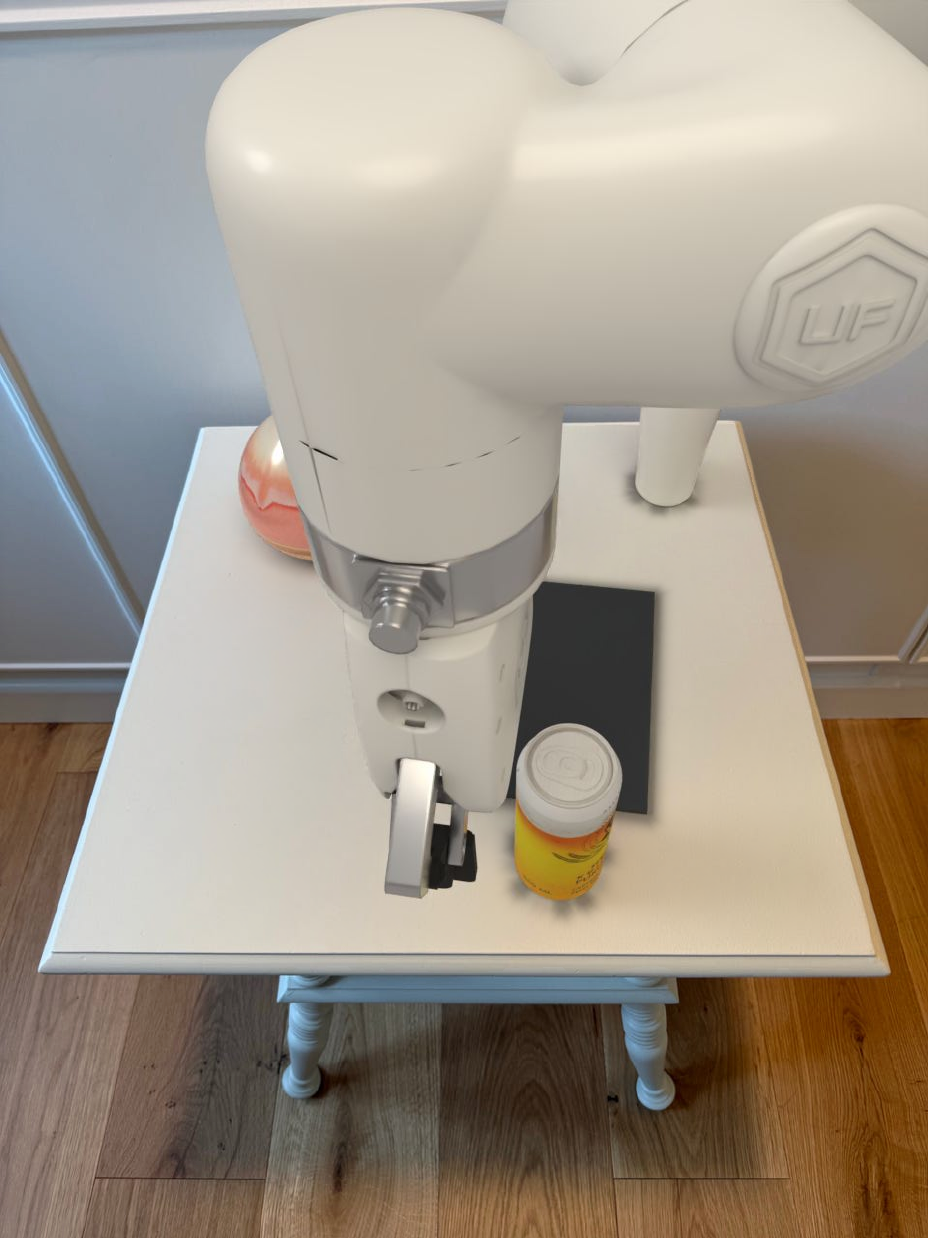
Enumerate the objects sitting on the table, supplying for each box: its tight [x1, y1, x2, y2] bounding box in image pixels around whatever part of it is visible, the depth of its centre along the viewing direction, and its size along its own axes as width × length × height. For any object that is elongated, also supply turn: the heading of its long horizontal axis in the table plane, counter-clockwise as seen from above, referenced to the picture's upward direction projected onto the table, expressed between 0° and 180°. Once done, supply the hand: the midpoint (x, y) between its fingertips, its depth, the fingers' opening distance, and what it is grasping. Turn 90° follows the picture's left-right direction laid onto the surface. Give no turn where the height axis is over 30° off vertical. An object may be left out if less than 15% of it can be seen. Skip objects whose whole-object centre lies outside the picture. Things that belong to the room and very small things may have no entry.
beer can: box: [514, 723, 622, 901], centre depth 58 cm, size 6×6×15 cm
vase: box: [237, 413, 313, 562], centre depth 76 cm, size 14×14×18 cm
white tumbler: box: [634, 407, 722, 507], centre depth 79 cm, size 7×7×15 cm
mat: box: [505, 580, 656, 815], centre depth 72 cm, size 12×20×1 cm, turn 172°
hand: (458, 766), depth 41 cm, fingers open, 9 cm apart
